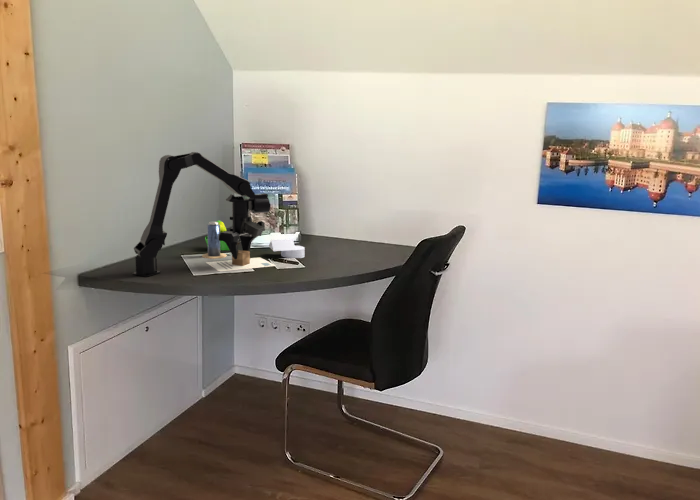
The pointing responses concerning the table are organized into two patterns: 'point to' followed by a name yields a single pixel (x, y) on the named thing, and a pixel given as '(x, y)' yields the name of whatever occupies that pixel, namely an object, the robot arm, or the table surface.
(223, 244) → the fruit basket
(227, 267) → the letter
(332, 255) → the table surface
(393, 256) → the table surface
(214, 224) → the flask
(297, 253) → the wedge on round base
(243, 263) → the cube
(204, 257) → the coaster
